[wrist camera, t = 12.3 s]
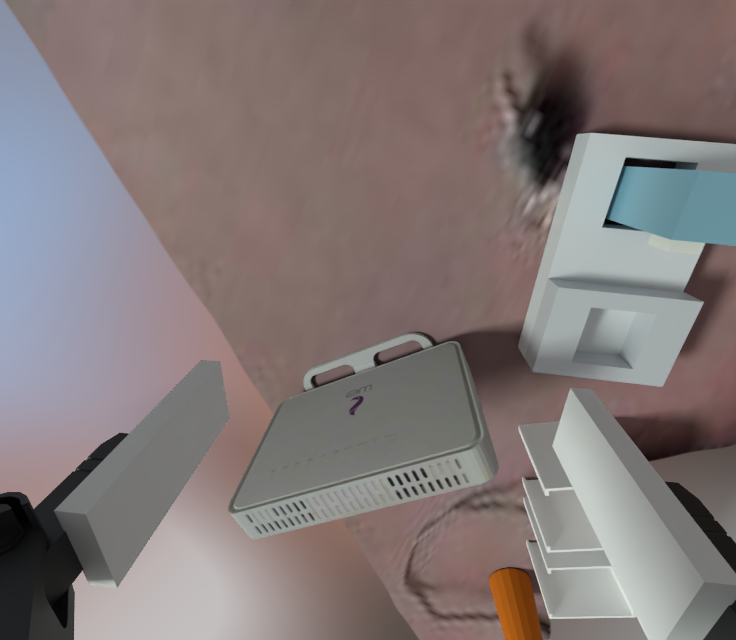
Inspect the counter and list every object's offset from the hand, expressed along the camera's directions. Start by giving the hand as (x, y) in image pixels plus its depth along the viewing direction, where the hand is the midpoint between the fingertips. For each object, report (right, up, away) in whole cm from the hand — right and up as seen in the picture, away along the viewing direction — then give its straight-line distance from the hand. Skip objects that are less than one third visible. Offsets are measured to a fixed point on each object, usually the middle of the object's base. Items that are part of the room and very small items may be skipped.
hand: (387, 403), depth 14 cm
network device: (0, -4, +37) cm, 37 cm away
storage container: (+28, -22, +42) cm, 55 cm away
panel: (+26, +10, +27) cm, 39 cm away
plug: (+26, +16, +24) cm, 39 cm away
